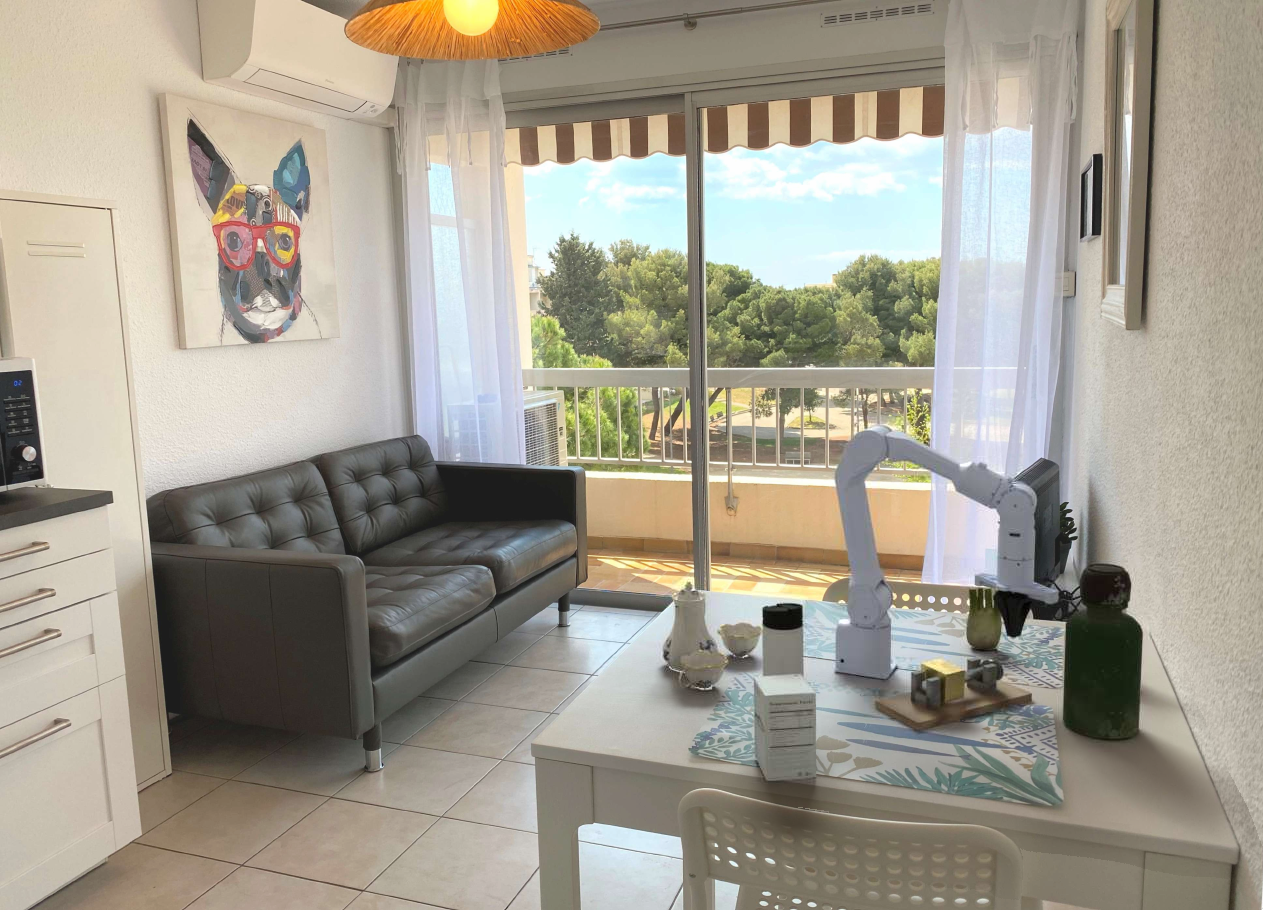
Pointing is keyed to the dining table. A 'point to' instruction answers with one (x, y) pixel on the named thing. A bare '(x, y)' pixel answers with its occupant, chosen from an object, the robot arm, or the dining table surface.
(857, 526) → the robot arm
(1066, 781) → the dining table surface
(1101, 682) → the green bottle
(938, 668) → the spacer
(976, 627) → the fennel bulb
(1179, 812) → the dining table surface
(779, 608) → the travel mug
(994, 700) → the shaft bracket
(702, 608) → the chinaware
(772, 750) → the supplement box
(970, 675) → the shaft
